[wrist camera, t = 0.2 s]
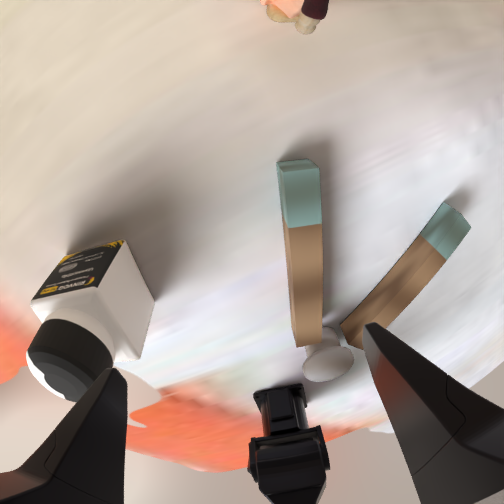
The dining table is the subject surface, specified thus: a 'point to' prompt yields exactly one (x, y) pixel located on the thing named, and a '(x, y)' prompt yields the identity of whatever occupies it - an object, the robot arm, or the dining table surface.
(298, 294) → the base
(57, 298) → the medicine bottle
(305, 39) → the dining table surface
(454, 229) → the tong leg
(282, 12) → the grandmother figurine
